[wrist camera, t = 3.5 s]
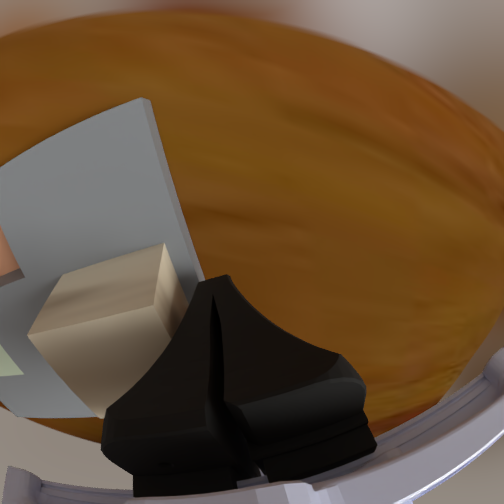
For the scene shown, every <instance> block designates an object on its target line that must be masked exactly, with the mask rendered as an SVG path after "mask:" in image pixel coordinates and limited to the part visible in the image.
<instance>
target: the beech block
mask: <svg viewBox="0 0 504 504" xmlns="http://www.w3.org/2000/svg"><path fill="white" fill-rule="evenodd" d="M188 306H189V304H188V301H187V299H186V296H185V294H184V292H183V289H182V287H181V284H180V282H179V279H178V277H177V274H176V272H175V269H174V267H173V264H172V262H171V259H170V256H169V254H168V251H167V249H166V246H165V243H161V244H158V245H155V246H151V247H148V248H145V249H141V250H138V251H135V252H132V253H128V254H125V255H122V256H119V257H116V258H112V259H109V260H106V261H103V262H100V263H97V264H94V265H90V266H87V267H84V268H81V269H78V270H75V271H72V272H69V273H66V274H63V275H62V276H61V278H60V280H59V281H58V283H57V284H56V286H55V287H54V289H53V291H52V292H51V294H50V295H49V297H48V299H47V300H46V302H45V304H44V305H43V307H42V309H41V311H40V312H39V314H38V316H37V318H36V319H35V321H34V323H33V325H32V327H31V329H30V330H29V332H28V334H27V336H28V338H29V339H30V340H31V342H32V343H33V344H34V346H35V347H36V348H37V350H38V351H39V352H40V354H41V355H42V356H43V357H44V359H45V360H46V361H47V362H48V364H49V365H50V366H51V367H52V368H53V370H54V371H55V372H56V373H57V374H58V375H59V377H60V378H61V379H62V380H63V381H64V382H65V383H66V385H67V386H68V387H69V388H70V389H71V390H72V391H73V392H74V393H75V394H76V395H77V396H78V397H79V398H80V399H81V400H82V401H83V403H84V404H85V405H86V406H87V407H88V408H90V409H91V410H92V411H93V412H94V413H95V414H96V415H97V416H98V417H99V418H104V417H105V412H106V409H107V408H108V407H109V406H110V405H112V404H113V403H114V402H115V401H117V400H118V399H119V398H120V397H121V396H123V395H124V394H125V393H126V392H127V391H128V390H129V389H130V388H132V387H133V386H134V385H135V384H136V383H137V382H138V381H139V380H140V379H141V378H142V377H143V375H144V374H145V373H146V372H147V371H148V370H149V369H150V368H151V366H152V365H153V364H154V363H155V361H156V360H157V359H158V358H159V356H160V355H161V354H162V353H163V351H164V350H165V348H166V347H167V345H168V344H169V342H170V341H171V339H172V337H173V336H174V334H175V332H176V330H177V328H178V327H179V325H180V323H181V321H182V319H183V317H184V315H185V313H186V310H187V308H188Z"/></svg>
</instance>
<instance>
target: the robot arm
mask: <svg viewBox="0 0 504 504" xmlns="http://www.w3.org/2000/svg"><path fill="white" fill-rule="evenodd" d="M365 397H366V385H365V384H364V382H363V380H362V378H361V377H360V375H359V374H358V373H357V372H356V370H355V369H354V368H353V367H352V366H351V364H350V363H349V362H348V361H347V360H346V359H345V358H344V357H343V356H342V355H341V354H338V353H335V352H331V351H328V350H325V349H322V348H319V347H316V346H314V345H312V344H309V343H307V342H305V341H303V340H301V339H299V338H297V337H295V336H293V335H292V334H290V333H288V332H286V331H284V330H283V329H281V328H280V327H278V326H277V325H275V324H274V323H272V322H271V321H270V320H268V319H267V318H266V317H264V316H263V315H262V314H261V313H260V312H258V311H257V310H256V309H255V308H254V307H253V306H252V305H251V304H250V303H249V302H248V301H247V300H246V299H245V298H244V297H243V295H242V294H241V293H240V292H239V291H238V289H237V288H236V287H235V285H234V284H233V282H232V280H231V277H230V276H229V275H227V274H226V275H223V276H219V277H215V278H212V279H208V280H205V281H201V282H198V284H197V286H196V289H195V291H194V294H193V296H192V299H191V301H190V304H189V306H188V308H187V310H186V313H185V315H184V317H183V319H182V321H181V323H180V325H179V327H178V328H177V330H176V332H175V334H174V336H173V337H172V339H171V341H170V342H169V344H168V345H167V347H166V348H165V350H164V351H163V353H162V354H161V355H160V356H159V358H158V359H157V360H156V361H155V363H154V364H153V365H152V366H151V368H150V369H149V370H148V371H147V372H146V373H145V374H144V375H143V377H142V378H141V379H140V380H139V381H138V382H137V383H136V384H135V385H134V386H133V387H132V388H130V389H129V390H128V391H127V392H126V393H125V394H124V395H123V396H121V397H120V398H119V399H118V400H117V401H115V402H114V403H113V404H112V405H110V406H109V407H108V408H107V409H106V412H105V417H104V423H103V432H102V441H101V451H102V452H103V454H104V455H105V456H106V457H107V458H108V459H109V460H110V461H111V462H113V463H115V464H116V465H117V466H119V467H120V468H122V469H124V470H125V471H127V472H128V473H130V474H132V475H133V490H119V489H102V488H91V487H82V486H74V485H67V484H61V483H55V482H50V481H45V480H41V479H40V478H39V477H37V476H36V475H34V474H33V473H31V472H29V471H26V470H24V469H20V468H15V467H12V466H8V468H7V473H6V479H5V485H4V491H3V498H2V504H413V502H412V501H413V500H415V499H417V498H419V497H420V496H422V495H424V494H426V493H427V492H429V491H430V490H432V489H434V488H435V487H437V486H438V485H440V484H441V483H443V482H444V481H446V480H447V479H449V478H450V477H452V476H453V475H454V474H456V473H457V472H459V471H460V470H461V469H463V468H464V467H465V466H467V465H468V464H469V463H471V462H472V461H473V460H474V459H476V458H477V457H478V456H479V455H481V454H482V453H483V452H484V451H485V450H487V449H488V448H489V447H490V446H491V445H492V444H494V443H495V442H496V441H497V440H498V439H499V438H500V437H501V436H502V435H503V434H504V346H503V347H502V348H501V349H500V350H499V351H497V352H496V353H495V354H494V355H493V356H492V357H491V358H490V359H489V361H488V362H487V364H486V365H485V367H484V369H483V372H482V373H481V374H480V375H479V376H477V377H476V378H475V379H473V380H472V381H471V382H469V383H468V384H466V385H465V386H464V387H462V388H461V389H459V390H458V391H456V392H455V393H454V394H452V395H451V396H449V397H448V398H446V399H445V400H443V401H441V402H440V403H438V404H437V405H435V406H433V407H432V408H430V409H428V410H427V411H425V412H423V413H422V414H420V415H418V416H416V417H415V418H413V419H411V420H409V421H407V422H405V423H404V424H402V425H400V426H398V427H396V428H394V429H392V430H390V431H388V432H386V433H384V434H382V435H380V436H377V437H375V438H374V437H373V435H372V433H371V431H370V429H369V427H368V425H367V424H368V419H367V417H366V415H365V413H364V411H363V407H364V402H365Z"/></svg>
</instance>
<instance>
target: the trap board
mask: <svg viewBox="0 0 504 504" xmlns="http://www.w3.org/2000/svg"><path fill="white" fill-rule="evenodd" d="M161 243H165V246H166V249H167V251H168V254H169V256H170V259H171V262H172V264H173V267H174V269H175V272H176V274H177V277H178V279H179V282H180V284H181V287H182V289H183V292H184V294H185V296H186V299H187V301H188V304H190V301H191V299H192V296H193V294H194V291H195V289H196V286H197V284H198V282H201V281H205V278H204V275H203V272H202V270H201V267H200V264H199V261H198V258H197V255H196V252H195V249H194V246H193V243H192V240H191V237H190V234H189V231H188V228H187V225H186V222H185V219H184V216H183V213H182V210H181V207H180V203H179V200H178V197H177V194H176V191H175V187H174V184H173V181H172V177H171V174H170V171H169V167H168V164H167V161H166V157H165V154H164V150H163V147H162V143H161V140H160V136H159V132H158V129H157V125H156V121H155V117H154V114H153V110H152V106H151V102H150V100H147V99H145V98H142V97H141V98H138V99H136V100H133V101H130V102H127V103H125V104H122V105H119V106H117V107H114V108H112V109H109V110H107V111H105V112H102V113H100V114H97V115H95V116H93V117H91V118H88V119H86V120H84V121H82V122H80V123H78V124H75V125H73V126H71V127H69V128H67V129H65V130H63V131H61V132H59V133H57V134H55V135H54V136H52V137H50V138H48V139H46V140H44V141H42V142H41V143H39V144H37V145H35V146H34V147H32V148H30V149H29V150H27V151H25V152H24V153H22V154H20V155H19V156H17V157H15V158H14V159H12V160H11V161H9V162H8V163H6V164H5V165H3V166H2V167H0V401H1V402H2V403H3V404H4V405H5V406H6V407H7V408H8V409H9V410H10V411H11V412H12V413H13V414H14V415H16V416H17V417H29V418H78V417H98V416H97V415H96V414H95V413H94V412H93V411H92V410H91V409H90V408H88V407H87V406H86V405H85V404H84V403H83V401H82V400H81V399H80V398H79V397H78V396H77V395H76V394H75V393H74V392H73V391H72V390H71V389H70V388H69V387H68V386H67V385H66V383H65V382H64V381H63V380H62V379H61V378H60V377H59V375H58V374H57V373H56V372H55V371H54V370H53V368H52V367H51V366H50V365H49V364H48V362H47V361H46V360H45V359H44V357H43V356H42V355H41V354H40V352H39V351H38V350H37V348H36V347H35V346H34V344H33V343H32V342H31V340H30V339H29V338H28V336H27V334H28V332H29V330H30V329H31V327H32V325H33V323H34V321H35V319H36V318H37V316H38V314H39V312H40V311H41V309H42V307H43V305H44V304H45V302H46V300H47V299H48V297H49V295H50V294H51V292H52V291H53V289H54V287H55V286H56V284H57V283H58V281H59V280H60V278H61V276H62V275H63V274H66V273H69V272H72V271H75V270H78V269H81V268H84V267H87V266H90V265H94V264H97V263H100V262H103V261H106V260H109V259H112V258H116V257H119V256H122V255H125V254H128V253H132V252H135V251H138V250H141V249H145V248H148V247H151V246H155V245H158V244H161Z"/></svg>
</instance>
